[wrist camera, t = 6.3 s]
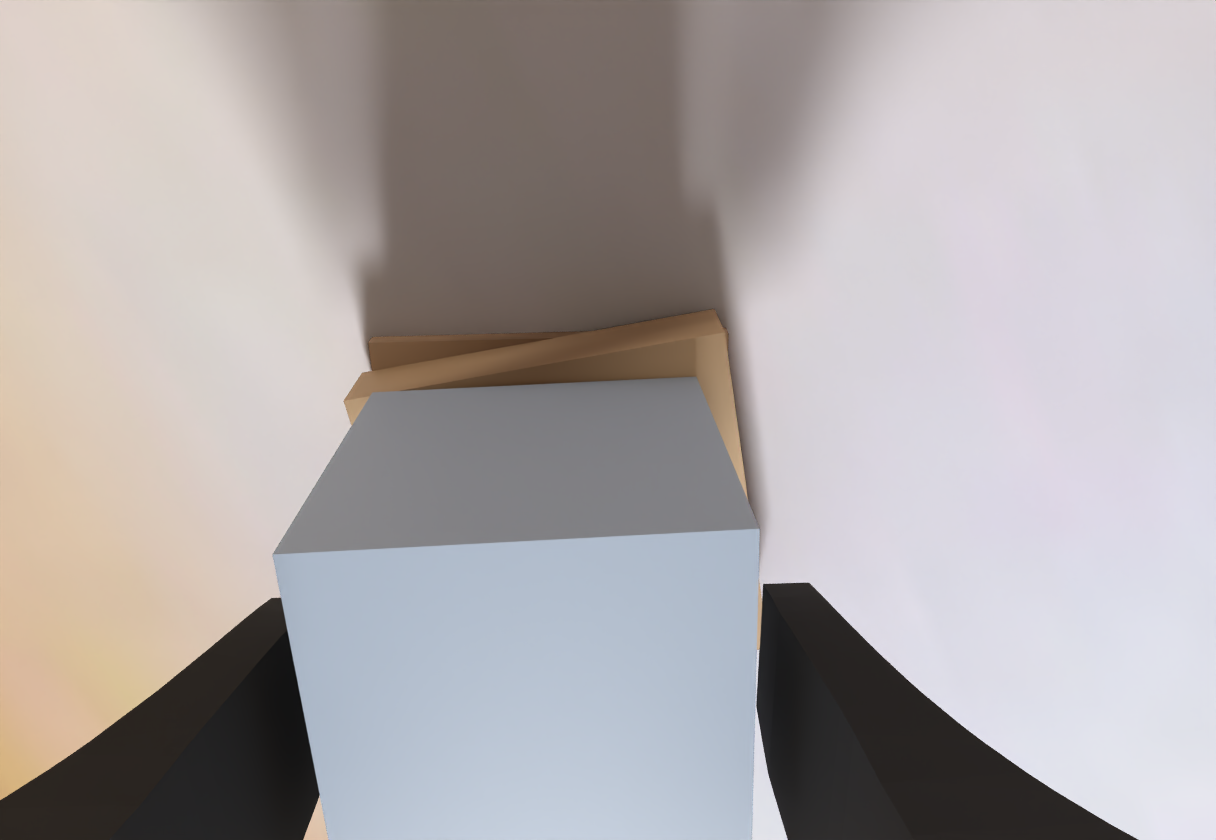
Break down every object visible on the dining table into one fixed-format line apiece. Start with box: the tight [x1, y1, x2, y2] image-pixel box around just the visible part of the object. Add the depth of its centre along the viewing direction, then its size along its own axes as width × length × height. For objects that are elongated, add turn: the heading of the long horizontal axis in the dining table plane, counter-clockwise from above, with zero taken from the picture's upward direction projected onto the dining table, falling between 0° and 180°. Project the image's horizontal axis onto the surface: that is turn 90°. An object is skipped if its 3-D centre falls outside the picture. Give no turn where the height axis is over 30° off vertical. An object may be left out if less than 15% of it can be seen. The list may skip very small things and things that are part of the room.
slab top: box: [344, 309, 762, 650], centre depth 16 cm, size 6×6×1 cm
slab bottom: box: [368, 328, 728, 371], centre depth 17 cm, size 6×6×1 cm
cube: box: [273, 377, 760, 840], centre depth 12 cm, size 5×5×5 cm
